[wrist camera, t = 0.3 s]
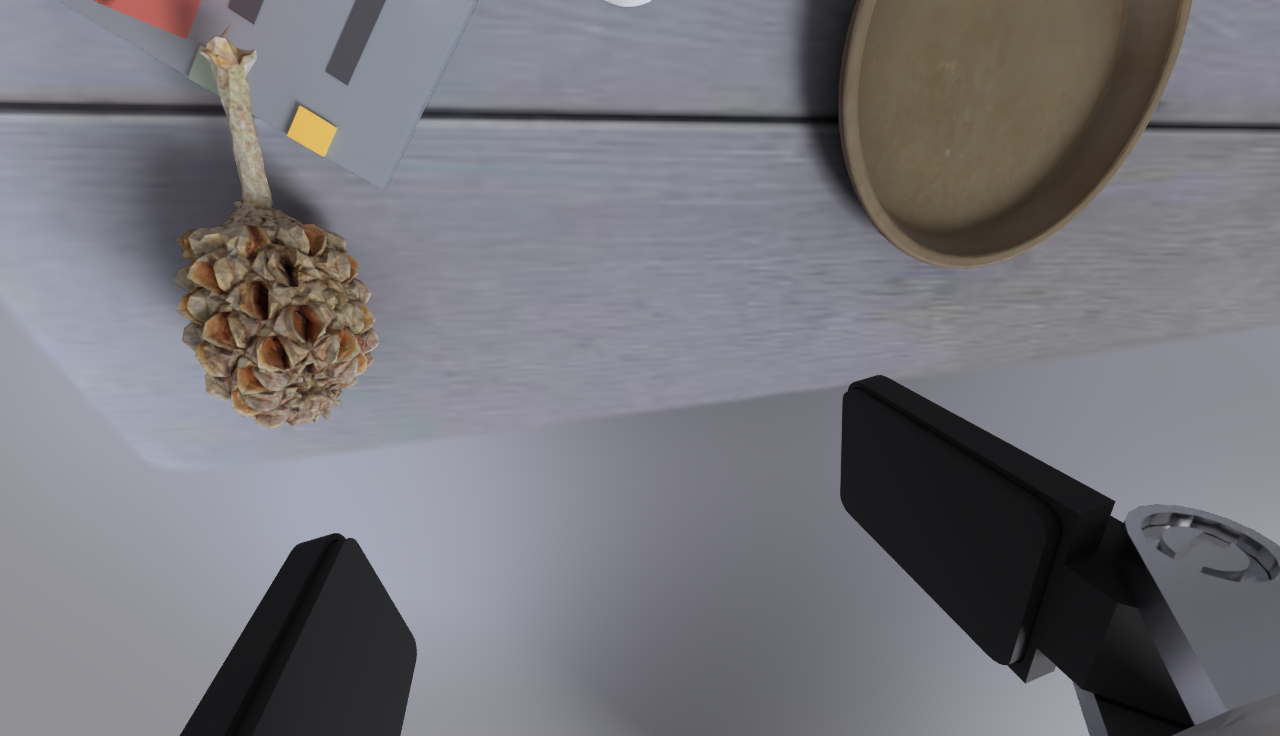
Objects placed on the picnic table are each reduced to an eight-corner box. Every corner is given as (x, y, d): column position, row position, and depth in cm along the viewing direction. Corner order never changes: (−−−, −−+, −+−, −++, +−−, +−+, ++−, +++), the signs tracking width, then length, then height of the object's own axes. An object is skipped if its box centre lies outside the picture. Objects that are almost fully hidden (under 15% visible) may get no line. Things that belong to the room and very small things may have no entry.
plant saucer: (766, 231, 39) (795, 238, 35) (902, -267, 29) (967, -341, 25) (1018, 281, 48) (1065, 290, 44) (1193, -84, 38) (1274, -116, 34)
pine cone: (411, 378, 36) (376, 443, 28) (274, 392, 34) (190, 467, 25) (335, 52, 28) (250, -7, 19) (147, 44, 26) (-49, -26, 17)
